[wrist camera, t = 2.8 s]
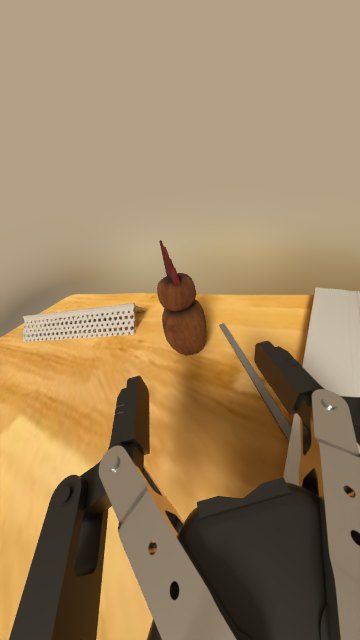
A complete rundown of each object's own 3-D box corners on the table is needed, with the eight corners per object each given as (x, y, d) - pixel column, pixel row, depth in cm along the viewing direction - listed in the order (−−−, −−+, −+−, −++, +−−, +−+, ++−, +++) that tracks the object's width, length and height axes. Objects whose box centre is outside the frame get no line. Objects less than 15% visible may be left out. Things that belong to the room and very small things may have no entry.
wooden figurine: (174, 332, 29) (145, 241, 20) (207, 328, 28) (192, 230, 19) (169, 364, 23) (127, 259, 15) (210, 361, 22) (191, 245, 14)
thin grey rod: (223, 324, 28) (223, 323, 27) (320, 474, 12) (321, 473, 12) (219, 325, 28) (219, 324, 27) (310, 477, 12) (311, 476, 12)
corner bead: (149, 311, 38) (141, 292, 35) (134, 338, 31) (123, 317, 28) (51, 321, 45) (38, 306, 42) (22, 345, 38) (4, 328, 35)
